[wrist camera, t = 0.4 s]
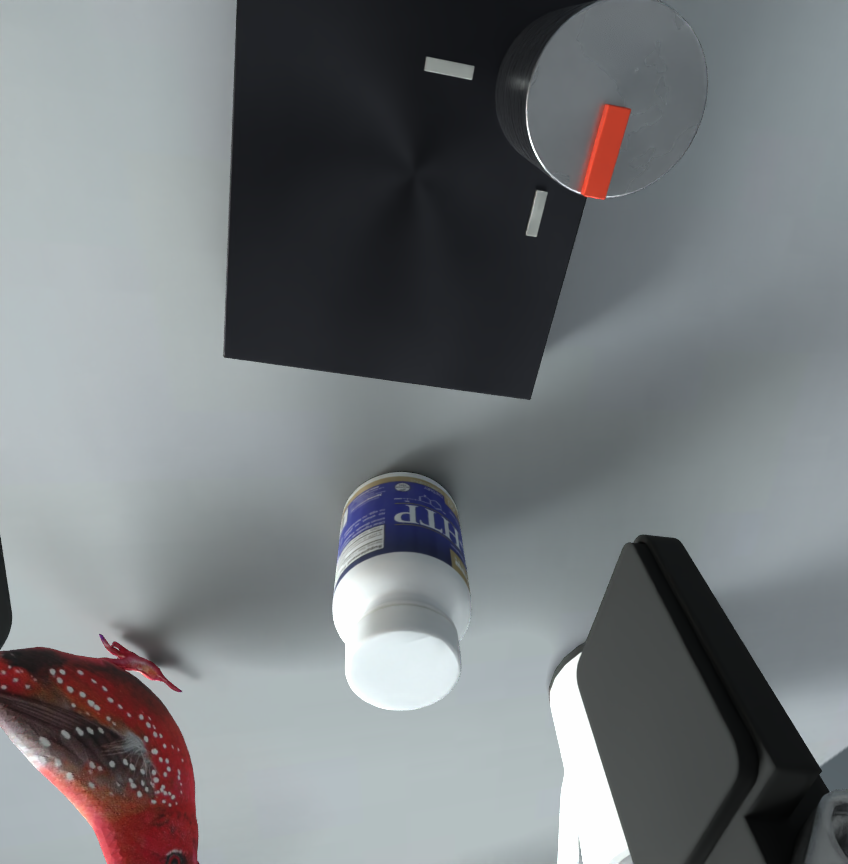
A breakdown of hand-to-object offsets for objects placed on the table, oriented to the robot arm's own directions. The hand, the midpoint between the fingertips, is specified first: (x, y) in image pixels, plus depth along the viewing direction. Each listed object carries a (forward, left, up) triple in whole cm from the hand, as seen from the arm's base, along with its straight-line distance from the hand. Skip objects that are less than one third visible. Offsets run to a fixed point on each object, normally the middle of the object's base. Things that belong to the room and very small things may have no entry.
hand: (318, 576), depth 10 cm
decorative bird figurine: (+20, -10, -17) cm, 28 cm away
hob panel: (-4, +3, -17) cm, 18 cm away
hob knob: (-7, +5, -14) cm, 16 cm away
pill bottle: (+11, +3, -17) cm, 21 cm away
